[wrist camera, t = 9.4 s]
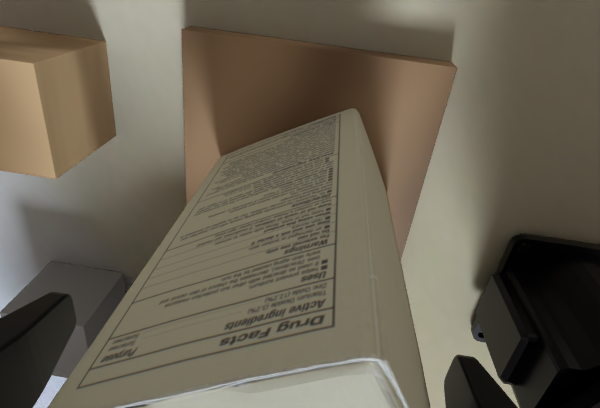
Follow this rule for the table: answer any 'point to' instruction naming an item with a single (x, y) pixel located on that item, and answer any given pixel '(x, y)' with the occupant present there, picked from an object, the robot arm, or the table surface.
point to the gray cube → (76, 304)
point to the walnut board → (311, 103)
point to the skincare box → (267, 290)
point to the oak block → (52, 101)
